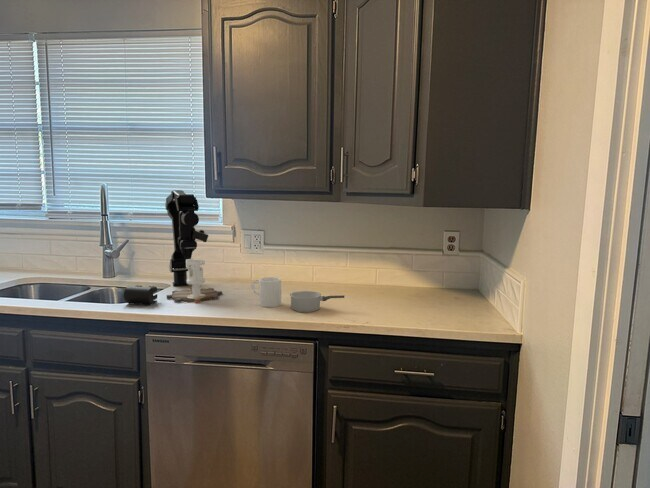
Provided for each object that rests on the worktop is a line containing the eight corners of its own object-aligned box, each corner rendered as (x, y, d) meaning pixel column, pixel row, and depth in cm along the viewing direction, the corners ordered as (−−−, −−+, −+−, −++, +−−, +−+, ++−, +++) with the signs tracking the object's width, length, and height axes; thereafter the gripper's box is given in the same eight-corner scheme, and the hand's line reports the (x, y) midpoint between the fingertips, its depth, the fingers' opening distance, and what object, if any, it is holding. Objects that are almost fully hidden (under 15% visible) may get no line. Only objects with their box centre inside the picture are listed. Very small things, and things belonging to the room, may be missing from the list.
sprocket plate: (165, 292, 184) (165, 287, 183) (218, 288, 192) (218, 284, 191) (167, 305, 164) (167, 300, 163) (226, 300, 172) (226, 295, 172)
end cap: (123, 305, 163) (122, 287, 162) (134, 301, 170) (133, 283, 169) (148, 307, 162) (148, 289, 161) (158, 302, 168) (158, 285, 168)
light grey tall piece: (185, 295, 173) (183, 258, 171) (202, 293, 177) (201, 256, 175) (190, 299, 168) (188, 260, 165) (208, 296, 171) (206, 259, 169)
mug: (256, 300, 173) (255, 275, 172) (284, 302, 169) (284, 277, 168) (246, 305, 165) (246, 279, 164) (275, 308, 162) (275, 282, 160)
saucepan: (343, 315, 154) (343, 299, 154) (287, 313, 156) (287, 297, 155) (344, 306, 166) (345, 292, 165) (292, 304, 167) (292, 290, 167)
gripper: (209, 226, 174) (210, 265, 176) (204, 222, 191) (204, 258, 193) (180, 226, 170) (181, 266, 172) (177, 223, 187) (178, 259, 189)
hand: (187, 262), depth 182 cm, fingers open, 9 cm apart
